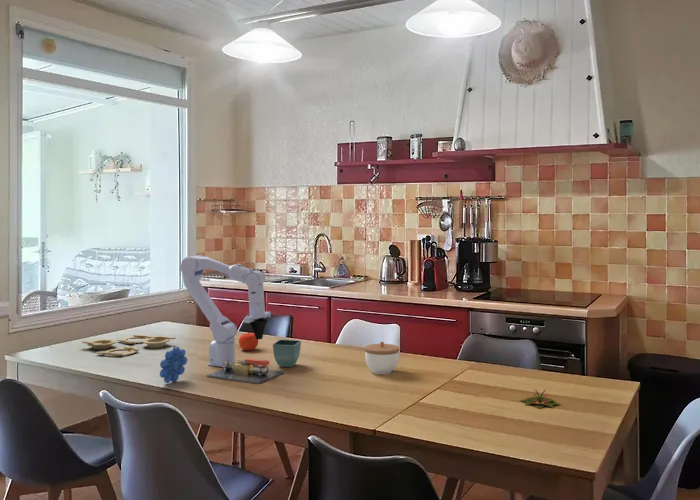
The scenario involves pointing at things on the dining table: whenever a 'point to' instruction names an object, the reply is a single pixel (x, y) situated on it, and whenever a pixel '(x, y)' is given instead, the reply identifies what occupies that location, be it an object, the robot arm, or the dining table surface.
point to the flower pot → (286, 352)
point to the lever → (255, 362)
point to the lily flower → (540, 400)
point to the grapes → (173, 364)
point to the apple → (248, 341)
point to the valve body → (245, 372)
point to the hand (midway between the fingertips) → (259, 339)
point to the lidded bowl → (382, 357)
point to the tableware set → (107, 343)
